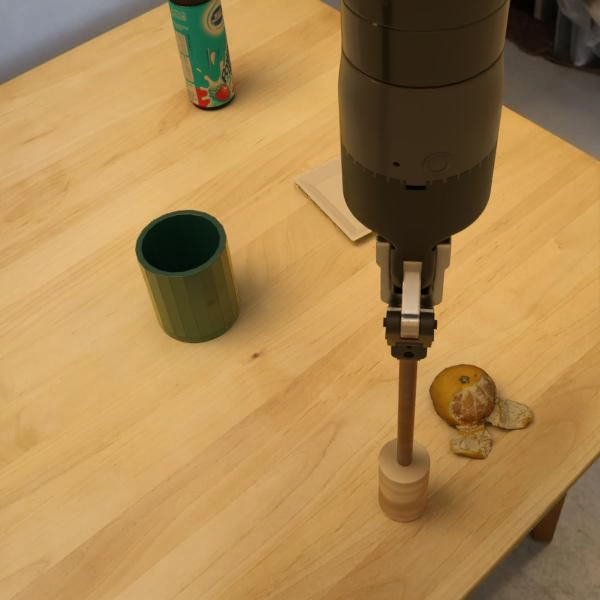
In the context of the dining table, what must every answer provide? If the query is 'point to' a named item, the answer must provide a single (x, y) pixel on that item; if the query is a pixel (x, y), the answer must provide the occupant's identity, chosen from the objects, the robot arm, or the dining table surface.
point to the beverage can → (203, 51)
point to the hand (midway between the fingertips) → (409, 337)
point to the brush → (404, 457)
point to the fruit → (474, 408)
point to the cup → (189, 275)
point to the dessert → (331, 195)
